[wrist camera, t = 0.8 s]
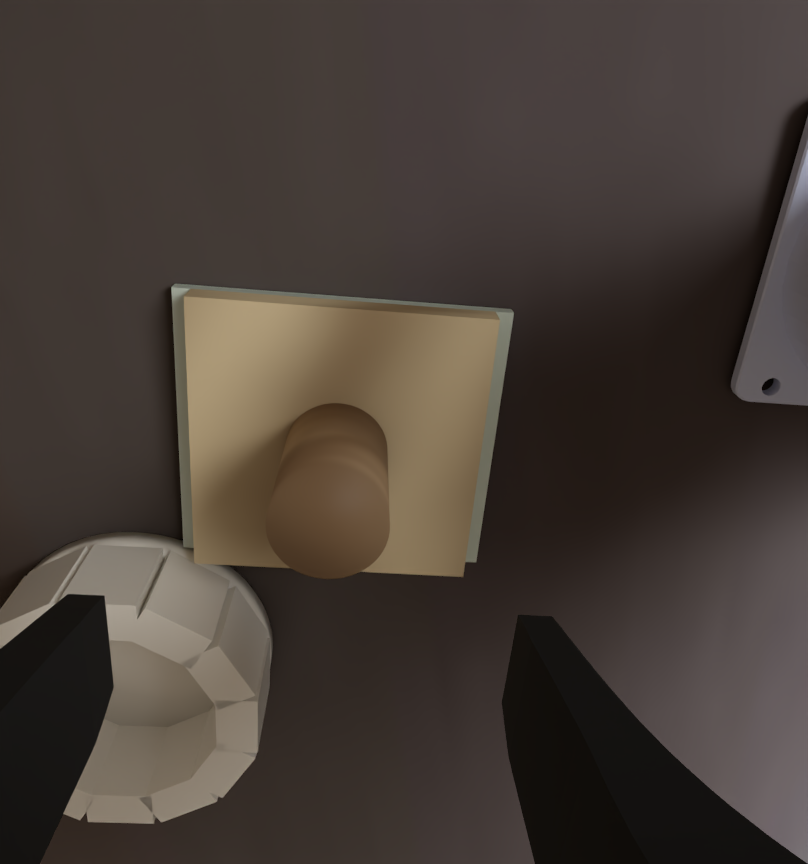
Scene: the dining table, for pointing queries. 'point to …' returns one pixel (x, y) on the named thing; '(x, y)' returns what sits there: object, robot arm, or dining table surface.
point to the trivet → (502, 313)
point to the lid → (334, 432)
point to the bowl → (161, 672)
